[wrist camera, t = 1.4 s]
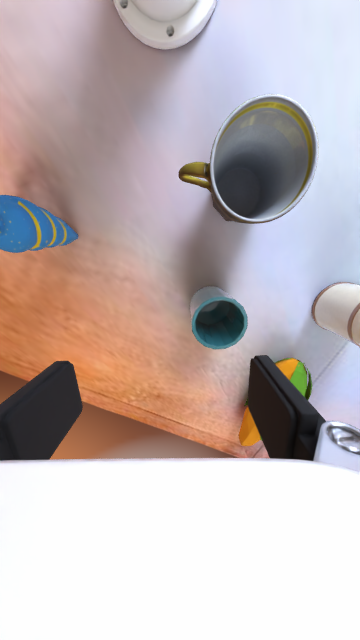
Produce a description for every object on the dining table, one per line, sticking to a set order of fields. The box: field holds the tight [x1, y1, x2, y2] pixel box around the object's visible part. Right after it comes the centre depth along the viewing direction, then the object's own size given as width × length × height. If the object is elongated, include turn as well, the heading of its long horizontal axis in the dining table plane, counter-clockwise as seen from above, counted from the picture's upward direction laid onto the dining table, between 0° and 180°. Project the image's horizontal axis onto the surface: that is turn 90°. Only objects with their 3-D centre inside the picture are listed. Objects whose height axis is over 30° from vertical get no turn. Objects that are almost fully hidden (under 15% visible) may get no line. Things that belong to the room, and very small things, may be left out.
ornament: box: [0, 195, 78, 253], centre depth 22 cm, size 5×5×15 cm
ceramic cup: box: [179, 94, 319, 224], centre depth 23 cm, size 13×10×10 cm
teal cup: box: [190, 286, 247, 349], centre depth 28 cm, size 7×7×9 cm
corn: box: [239, 358, 312, 446], centre depth 34 cm, size 7×8×20 cm
